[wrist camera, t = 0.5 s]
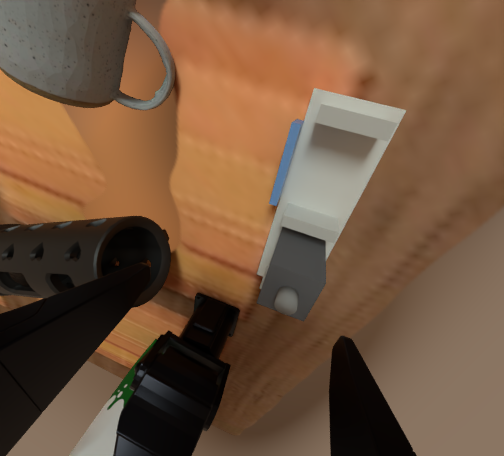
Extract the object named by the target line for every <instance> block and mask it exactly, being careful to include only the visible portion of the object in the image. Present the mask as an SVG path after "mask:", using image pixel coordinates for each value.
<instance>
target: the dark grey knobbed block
mask: <svg viewBox="0 0 504 456" xmlns="http://www.w3.org/2000/svg"><path fill="white" fill-rule="evenodd" d="M325 284H326V241H325V240H322V239H319V238H316V237H313V236H310V235H307V234H304V233H301V232H298V231H295V230H292V229H289V228H286V227H282V230H281V233H280V236H279V238H278V241H277V244H276V247H275V250H274V253H273V256H272V259H271V262H270V265H269V268H268V271H267V274H266V276H265V279H264V282H263V285H262V288H261V291H260V294H259V297H258V300H257V304H260V305H263V306H265V307H268V308H270V309H273V310H275V311H278V312H280V313H282V314H285V315H288V316H291V317H293V318H296V319H299V320H301V321H304V320H305V319H306V317H307V315H308V313H309V312H310V310H311V308H312V306H313V305H314V303H315V301H316V300H317V298H318V296H319V294H320V293H321V291H322V289H323V288H324V286H325Z"/></svg>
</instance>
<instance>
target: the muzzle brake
mask: <svg viewBox="0 0 504 456" xmlns="http://www.w3.org/2000/svg"><path fill="white" fill-rule="evenodd" d="M168 240H169V237H168V234H167V232H166V230H162V229H161V228H160V227H159V225H158V224H156V223H155V222H154V221H152V220H150V219H148V218H146V217H142V216H128V217H116V218H103V219H91V220H78V221H66V222H54V223H42V224H29V225H21V224H3V225H0V296H5V295H18V296H27V297H35V298H48V297H50V296H52V295H55V294H58V293H60V292H63V291H66V290H68V289H71V288H74V287H76V286H79V285H82V284H84V283H87V282H90V281H92V280H95V279H98V278H100V277H103V276H106V275H108V274H111V273H114V272H116V271H119V270H122V269H124V268H127V267H130V266H132V265H135V264H138V263H145V264H146V262H147V261H148V260H149V261H150V262H151V267H150V273H151V279H150V282H149V283H148V285H147V286H146V287H145V289H144V290H143V292H142V293H141V295H140V296H139V298H138V299H137V300H136V302H135V303H134V305H133V306H132V307H131V308H133V307H138V306H140V305H143V304H145V303H146V302H148V301H149V300H151V299H152V298H153V297H154V296H155V295H156V294H157V293H158V292H159V290H160V289H161V288H162V286H163V284H164V282H165V281H166V278H167V275H168V273H169V268H170V262H171V252H170V246H169V243H168ZM117 261H119V266H115V264H116V262H117Z"/></svg>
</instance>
